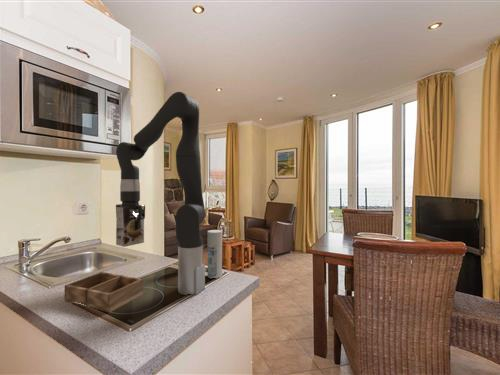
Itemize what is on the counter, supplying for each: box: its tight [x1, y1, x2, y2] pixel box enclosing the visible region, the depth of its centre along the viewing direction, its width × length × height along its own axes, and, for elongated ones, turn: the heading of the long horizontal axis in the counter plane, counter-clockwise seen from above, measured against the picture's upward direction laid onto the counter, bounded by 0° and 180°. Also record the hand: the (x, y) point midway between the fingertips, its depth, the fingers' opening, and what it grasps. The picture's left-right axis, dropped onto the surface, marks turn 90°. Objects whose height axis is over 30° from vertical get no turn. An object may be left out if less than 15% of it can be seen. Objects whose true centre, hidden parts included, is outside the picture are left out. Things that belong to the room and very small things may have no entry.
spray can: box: [207, 229, 223, 279], centre depth 108 cm, size 6×6×20 cm
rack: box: [64, 271, 144, 313], centre depth 87 cm, size 21×14×6 cm, turn 70°
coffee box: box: [115, 206, 145, 248], centre depth 103 cm, size 9×6×16 cm
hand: (130, 228), depth 103 cm, fingers closed on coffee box, 7 cm apart
